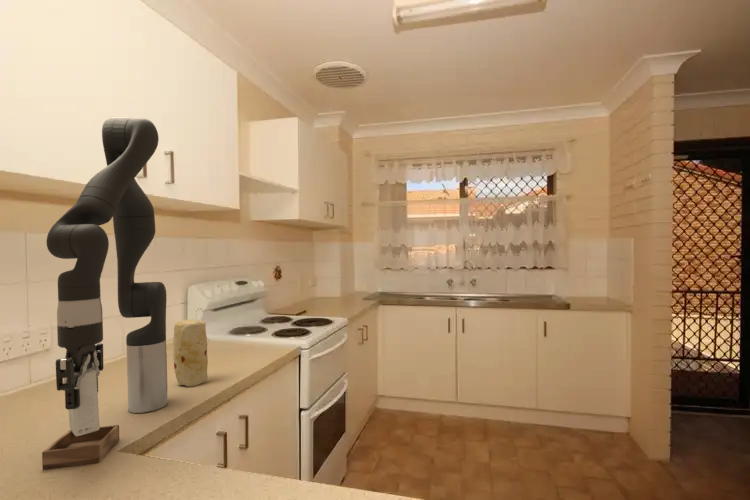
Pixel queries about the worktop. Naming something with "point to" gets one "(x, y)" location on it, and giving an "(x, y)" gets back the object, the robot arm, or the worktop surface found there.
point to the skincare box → (86, 406)
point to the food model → (190, 352)
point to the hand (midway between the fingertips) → (82, 401)
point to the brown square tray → (80, 448)
